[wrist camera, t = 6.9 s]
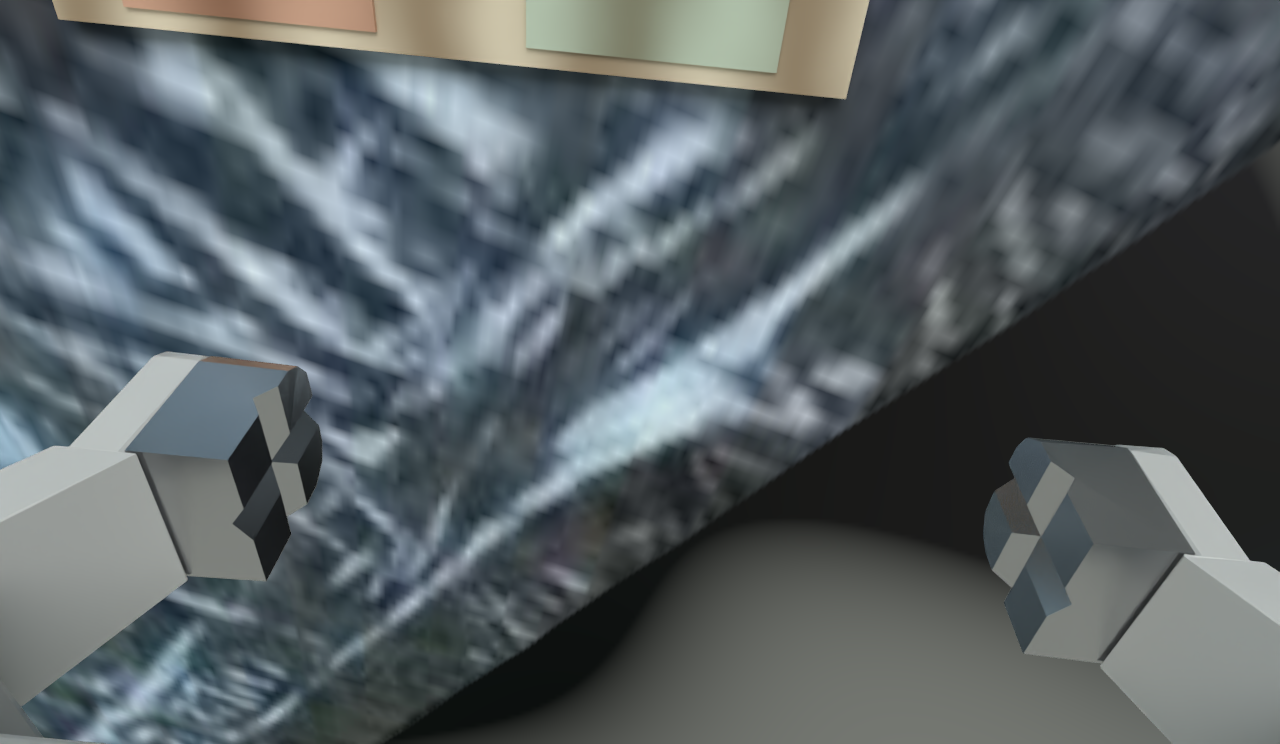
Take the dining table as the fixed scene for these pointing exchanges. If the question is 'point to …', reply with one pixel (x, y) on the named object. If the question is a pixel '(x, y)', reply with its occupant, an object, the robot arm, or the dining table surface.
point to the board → (547, 34)
